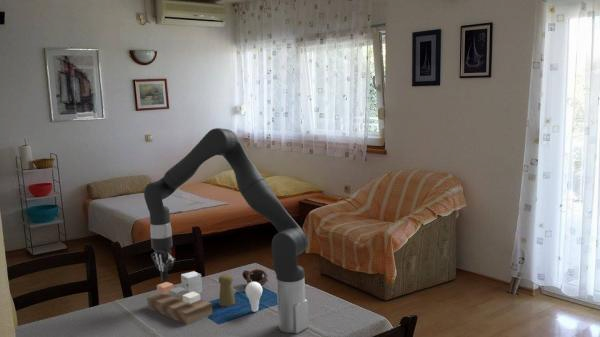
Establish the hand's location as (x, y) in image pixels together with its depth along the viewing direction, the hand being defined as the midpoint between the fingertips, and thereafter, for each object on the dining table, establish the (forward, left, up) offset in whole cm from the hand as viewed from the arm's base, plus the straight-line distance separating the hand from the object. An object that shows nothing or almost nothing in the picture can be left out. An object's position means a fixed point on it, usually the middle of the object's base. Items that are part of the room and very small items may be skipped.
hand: (164, 279), depth 193 cm
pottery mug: (-13, -33, -10) cm, 37 cm away
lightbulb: (-31, -16, -10) cm, 36 cm away
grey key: (-8, 0, -4) cm, 9 cm away
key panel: (-8, 0, -10) cm, 13 cm away
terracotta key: (0, 0, -4) cm, 4 cm away
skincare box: (+3, -14, -10) cm, 18 cm away
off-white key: (-16, 0, -4) cm, 16 cm away
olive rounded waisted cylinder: (-17, -15, -10) cm, 25 cm away
